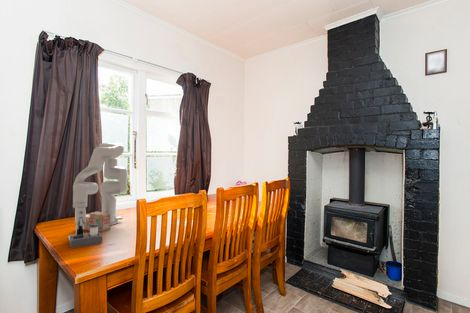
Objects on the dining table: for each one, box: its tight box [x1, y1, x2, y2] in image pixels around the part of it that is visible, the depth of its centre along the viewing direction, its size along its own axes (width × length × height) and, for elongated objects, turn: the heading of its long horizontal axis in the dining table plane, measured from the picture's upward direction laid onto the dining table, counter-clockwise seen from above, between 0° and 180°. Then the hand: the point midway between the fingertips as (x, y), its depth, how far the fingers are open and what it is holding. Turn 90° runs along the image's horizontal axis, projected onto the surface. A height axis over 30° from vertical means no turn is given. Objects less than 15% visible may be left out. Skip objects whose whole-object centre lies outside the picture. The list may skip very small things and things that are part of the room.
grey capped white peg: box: [89, 223, 99, 237], centre depth 144 cm, size 4×4×10 cm
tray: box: [67, 232, 88, 242], centre depth 151 cm, size 11×9×2 cm
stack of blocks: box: [84, 211, 111, 232], centre depth 169 cm, size 21×6×12 cm, turn 69°
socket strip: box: [69, 231, 103, 249], centre depth 142 cm, size 15×9×6 cm, turn 127°
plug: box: [75, 222, 85, 235], centre depth 151 cm, size 4×4×10 cm
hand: (79, 234), depth 151 cm, fingers closed on plug, 4 cm apart
